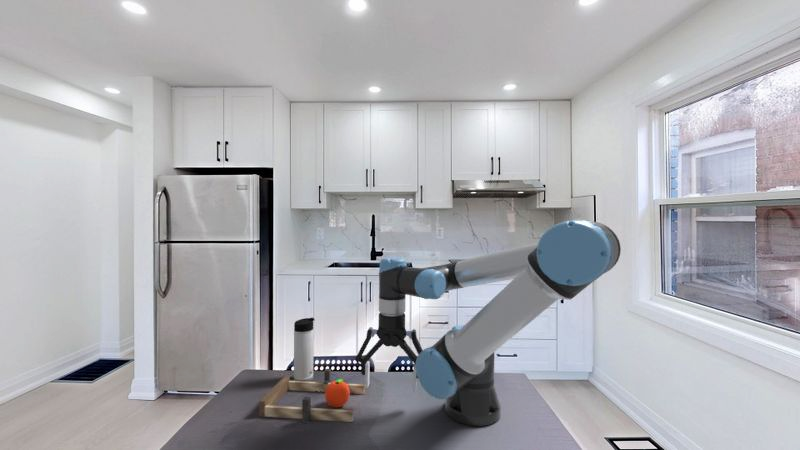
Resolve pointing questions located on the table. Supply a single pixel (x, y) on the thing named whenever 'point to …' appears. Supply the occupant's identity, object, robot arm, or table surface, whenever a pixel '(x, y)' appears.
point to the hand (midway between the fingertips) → (390, 387)
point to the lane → (305, 401)
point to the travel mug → (303, 350)
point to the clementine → (337, 393)
